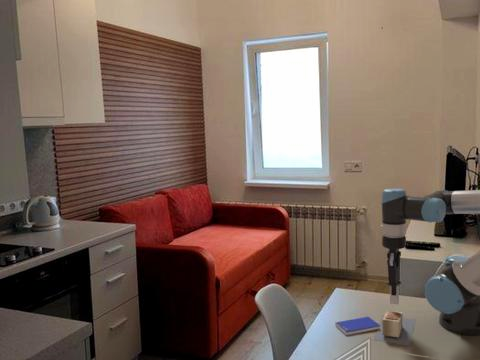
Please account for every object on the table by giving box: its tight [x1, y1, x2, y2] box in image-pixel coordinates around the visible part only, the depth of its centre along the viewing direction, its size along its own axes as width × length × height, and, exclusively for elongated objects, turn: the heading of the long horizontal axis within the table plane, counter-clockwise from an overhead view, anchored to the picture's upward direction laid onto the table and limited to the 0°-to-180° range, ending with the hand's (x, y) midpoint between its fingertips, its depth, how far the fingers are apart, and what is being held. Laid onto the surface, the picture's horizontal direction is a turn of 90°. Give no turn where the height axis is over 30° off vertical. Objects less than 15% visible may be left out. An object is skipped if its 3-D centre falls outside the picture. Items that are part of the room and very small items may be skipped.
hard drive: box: [335, 316, 380, 336], centre depth 160 cm, size 2×8×12 cm
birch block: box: [383, 310, 404, 337], centre depth 155 cm, size 5×5×10 cm
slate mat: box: [373, 315, 416, 346], centre depth 157 cm, size 11×20×1 cm, turn 155°
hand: (394, 303), depth 159 cm, fingers closed
